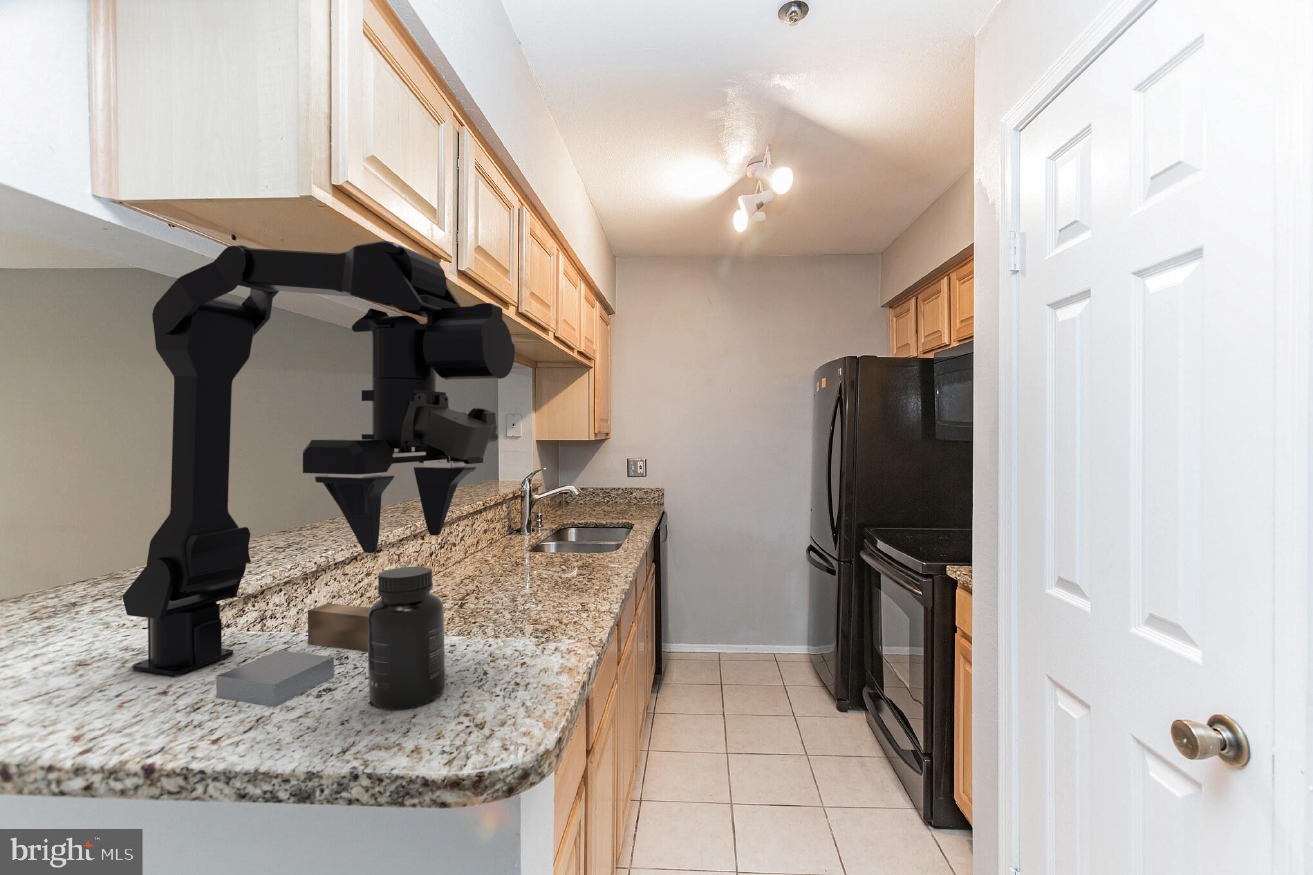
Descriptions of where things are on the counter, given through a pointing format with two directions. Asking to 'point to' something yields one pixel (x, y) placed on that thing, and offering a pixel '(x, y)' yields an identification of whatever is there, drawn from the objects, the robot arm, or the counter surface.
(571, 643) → the counter surface
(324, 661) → the grey metal plate
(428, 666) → the supplement bottle
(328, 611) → the curved brown bar
